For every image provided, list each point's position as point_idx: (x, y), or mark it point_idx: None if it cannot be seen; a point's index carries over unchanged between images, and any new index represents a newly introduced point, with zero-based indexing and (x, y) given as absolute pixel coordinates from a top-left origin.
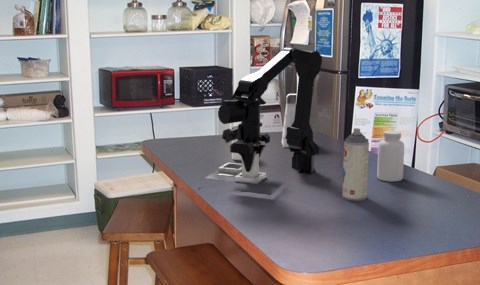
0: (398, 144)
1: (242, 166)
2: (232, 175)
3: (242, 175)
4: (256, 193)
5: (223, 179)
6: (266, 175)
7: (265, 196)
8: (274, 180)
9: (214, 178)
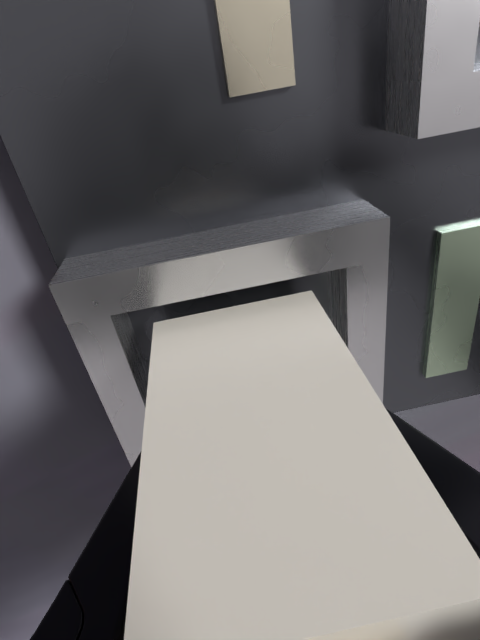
0: None
1: (144, 433)
2: (267, 76)
3: (152, 343)
4: (19, 495)
5: (20, 59)
6: (434, 381)
7: (13, 553)
8: (401, 417)
9: None
